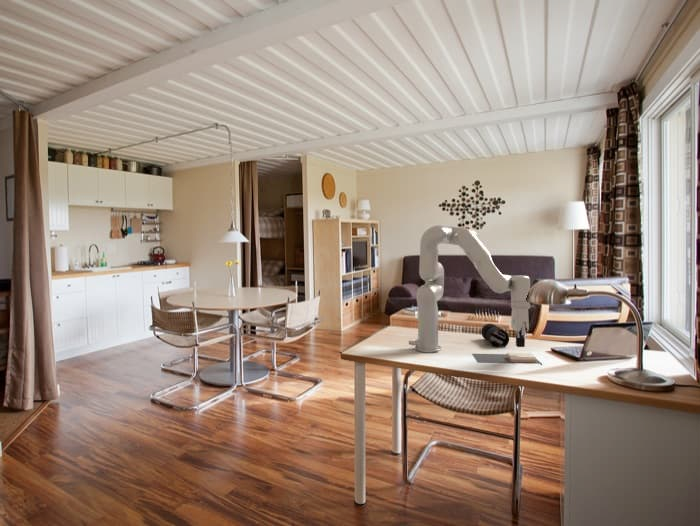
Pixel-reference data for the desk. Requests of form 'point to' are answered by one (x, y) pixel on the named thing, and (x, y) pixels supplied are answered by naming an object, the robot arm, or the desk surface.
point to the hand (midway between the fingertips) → (520, 346)
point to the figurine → (495, 335)
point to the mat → (497, 359)
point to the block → (521, 357)
